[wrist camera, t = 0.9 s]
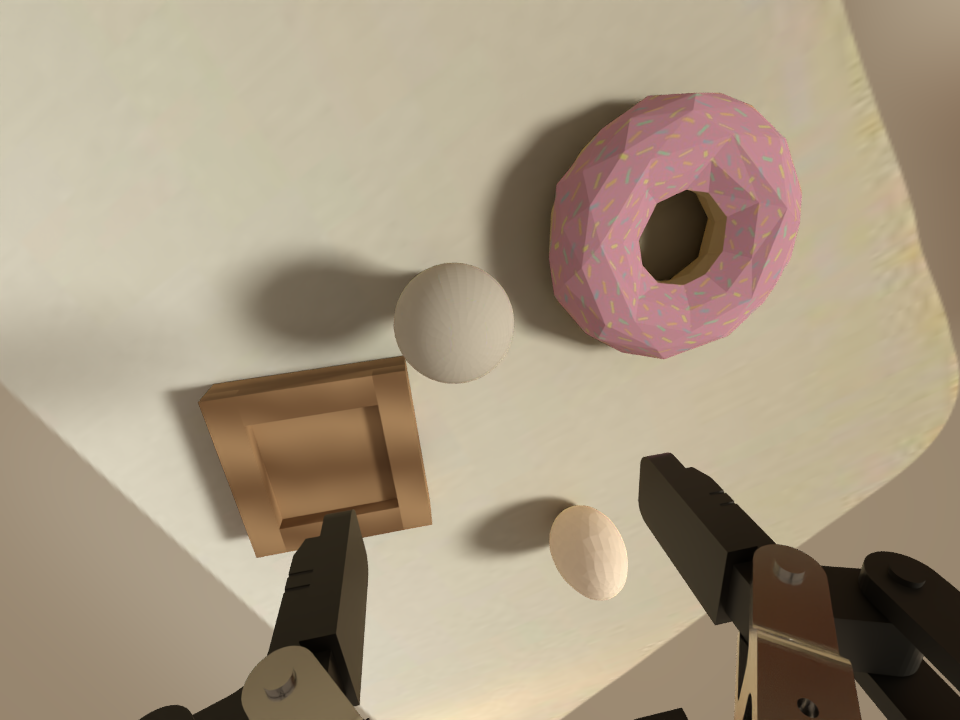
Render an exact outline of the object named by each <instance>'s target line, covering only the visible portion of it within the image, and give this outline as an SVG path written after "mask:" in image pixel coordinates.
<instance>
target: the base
mask: <svg viewBox="0 0 960 720" xmlns="http://www.w3.org/2000/svg"><path fill="white" fill-rule="evenodd" d="M198 404H199V406H200V409H201V411H202V414H203V417H204V419H205V422H206V425H207V427H208V430H209V433H210V435H211V438H212V441H213V443H214V446H215V449H216V451H217V454H218V457H219V459H220V462H221V465H222V467H223V470H224V472H225V475H226V478H227V480H228V483H229V486H230V488H231V491H232V494H233V496H234V499H235V502H236V504H237V507H238V510H239V512H240V515H241V518H242V520H243V523H244V526H245V528H246V531H247V533H248V536H249V539H250V541H251V544H252V547H253V549H254V552H255V555H256V557H257V558H258V557H264V556H269V555H274V554H279V553H285V552H290V551H295V550H298V549H299V547H300V546H301V545H302V543H303V542H304V540H305V539H307V538H312V537H318V536H320V533H321V528H322V523H323V518H324V516H325V515H326V514H330V513H336V512H341V511H347V510H352V509H354V510H355V512H356V515H357V519H358V523H359V527H360V530H361V534H362V538H363V537H369V536H374V535H379V534H384V533H390V532H395V531H400V530H405V529H411V528H416V527H421V526H426V525H432V517H431V507H430V499H429V493H428V487H427V481H426V476H425V470H424V464H423V458H422V453H421V447H420V441H419V435H418V430H417V424H416V418H415V412H414V406H413V401H412V395H411V389H410V383H409V378H408V372H407V366H406V360H405V357H404V356H399V357H392V358H386V359H379V360H372V361H366V362H359V363H352V364H346V365H339V366H332V367H326V368H319V369H312V370H306V371H299V372H292V373H286V374H279V375H272V376H265V377H259V378H252V379H245V380H239V381H232V382H225V383H219V384H213V386H212V387H211V388H210V389H209V390H208V391H207V393H206V394H205V395H204V396H203V397H202V398H201V400H200V401H199V402H198Z"/></svg>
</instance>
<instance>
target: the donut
mask: <svg viewBox="0 0 960 720" xmlns="http://www.w3.org/2000/svg"><path fill="white" fill-rule="evenodd" d="M684 190H690V191H692V192H694V193H696V194H697V196H698V199H699V201H700V203H701V205H702V207H703V209H704V211H705V213H706V215H707V217H708V220H707V224H706V228H705V232H704V236H703V240H702V244H701V248H700V252H699V256H698V258H697V259H695V260H694V261H693V262H692V263H690V264H689V265H688V266H687V267H685V268H684V269H683V270H682V271H680V272H679V273H678V274H677V275H675V276H674V277H673V278H672V279H670V280H664V281H657V280H655V279H654V278H653V277H652V276H651V275H650V273H649V272H648V271H647V270H646V269H645V268H644V266H643V265H642V260H641V253H640V246H639V239H640V237H641V235H642V233H643V231H644V229H645V227H646V224H647V222H648V220H649V218H650V216H651V214H652V212H653V210H654V208H655V206H656V204H657V203H659V202H661V201H663V200H665V199H667V198H669V197H671V196H673V195H676V194H678V193H680V192H682V191H684ZM801 198H802V191H801V187H800V184H799V181H798V178H797V174H796V171H795V168H794V164H793V161H792V158H791V154H790V151H789V148H788V144H787V141H786V139H785V138H784V137H783V136H782V135H781V134H780V133H779V132H778V131H777V130H776V129H775V128H774V127H773V126H772V125H771V124H770V123H769V122H768V121H767V120H766V119H765V118H764V117H763V116H762V115H761V114H760V113H759V112H758V111H757V110H756V109H755V108H754V107H753V106H752V105H749V104H747V103H744V102H742V101H739V100H737V99H734V98H732V97H729V96H727V95H724V94H722V93H686V94H671V95H655V96H647V97H646V98H645V99H643V100H642V101H640V102H639V103H637V104H636V105H635V106H633V107H632V108H630V109H629V110H628V111H626V112H625V113H623V114H622V115H621V116H619V117H618V118H616V119H615V120H613V121H612V122H611V123H609V124H608V125H606V126H605V127H604V128H602V129H601V130H600V131H599V132H598V134H597V135H596V136H595V137H594V138H593V139H592V140H591V141H590V142H589V143H588V144H587V145H586V146H585V147H584V148H583V149H582V150H581V152H580V153H579V155H578V157H577V158H576V160H575V162H574V163H573V165H572V166H571V167H570V169H569V170H568V171H567V172H566V174H565V175H564V176H563V177H562V178H561V180H560V181H559V182H558V183H557V185H556V195H555V202H554V205H553V208H552V211H551V225H550V245H549V262H550V269H551V276H552V283H553V290H554V297H555V298H556V299H557V300H558V302H559V303H560V304H561V305H562V306H563V307H564V309H565V310H566V311H567V312H568V313H569V314H570V316H571V317H572V318H573V319H574V320H575V321H576V323H577V324H578V325H579V326H580V327H581V328H582V330H583V331H584V332H585V333H586V334H588V335H590V336H592V337H594V338H595V339H597V340H599V341H601V342H603V343H605V344H607V345H609V346H611V347H613V348H615V349H617V350H618V351H620V352H623V353H630V354H636V355H642V356H648V357H654V358H660V359H666V358H669V357H671V356H674V355H677V354H680V353H682V352H685V351H688V350H691V349H693V348H696V347H699V346H701V345H704V344H707V343H710V342H712V341H715V340H718V339H721V338H723V337H726V336H728V335H730V334H731V333H732V332H733V331H734V330H735V329H736V328H737V327H738V326H739V325H740V324H741V323H742V322H743V321H744V320H745V319H747V318H748V317H749V316H750V315H751V314H752V313H753V312H754V311H755V310H756V309H757V308H758V307H759V306H760V305H761V304H762V303H763V302H764V301H765V300H766V298H767V297H768V295H769V294H770V292H771V291H772V290H773V288H774V286H775V285H776V283H777V281H778V280H779V278H780V276H781V274H782V273H783V271H784V269H785V267H786V266H787V264H788V262H789V261H790V259H791V255H792V251H793V247H794V243H795V239H796V236H797V232H798V228H799V224H800V212H801Z"/></svg>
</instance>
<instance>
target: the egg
mask: <svg viewBox="0 0 960 720" xmlns="http://www.w3.org/2000/svg"><path fill="white" fill-rule="evenodd" d="M549 545H550V552H551V555H552V558H553V561H554V563H555V565H556V568H557V569H558V571H559V573H560V574H561V576H562V577H563V579H564V580H565V581H566V582H567V583H568V584H569V585H570V586H572V587H573V588H574V589H575V590H576V591H577V592H579V593H580V594H582V595H584V596H585V597H588V598H590V599H594V600H608V599H610V598H612V597H615V596H616V595H617V594H618V593H619V592H620V590H621V589H622V588H623V586H624V584H625V582H626V578H627V569H628V561H627V552H626V547H625V545H624V542H623V539H622V537H621V535H620V533H619V531H618V529H617V528H616V527H615V525H614V524H613V523H612V521H611V520H610V519H609V518H608V517H607V516H606V515H604V514H603V513H601V512H600V511H598V510H597V509H594V508H592V507H589V506H580V505H579V506H572V507H568V508H567V509H565V510H563V511H562V512H561V513H560V514H559V515H558V516H557V517H556V518H555V520H554V522H553V524H552V527H551V531H550V538H549Z"/></svg>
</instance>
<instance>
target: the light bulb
mask: <svg viewBox="0 0 960 720" xmlns="http://www.w3.org/2000/svg"><path fill="white" fill-rule="evenodd" d="M394 332H395V338H396V341H397V344H398V347H399V349H400V351H401V353H402V355H403V356H404V357H405V359H406V360H407V361H408V363H409V364H410V365H411V366H412V367H413V368H414V369H415V370H417V371H418V372H420V373H421V374H422V375H424V376H426V377H428V378H430V379H432V380H435V381H439V382H443V383H455V384H458V383H466V382H470V381H473V380H476V379H478V378H481V377H483V376H484V375H486V374H487V373H489V372H490V371H491V370H493V369H494V368H495V367H496V366H497V365H498V364H499V363H500V362H501V361H502V359H503V358H504V356H505V355H506V353H507V351H508V349H509V347H510V344H511V341H512V338H513V332H514V315H513V310H512V306H511V303H510V300H509V298H508V296H507V294H506V292H505V291H504V289H503V288H502V286H501V285H500V284H499V283H498V282H497V281H496V280H495V279H494V278H493V277H492V276H491V275H489V274H488V273H486V272H485V271H483V270H481V269H479V268H477V267H474V266H472V265H468V264H463V263H444V264H440V265H436V266H433V267H431V268H428V269H426V270H424V271H423V272H421V273H419V274H418V275H417V276H416V277H414V278H413V279H412V280H411V281H410V282H409V283H408V285H407V286H406V287H405V288H404V290H403V292H402V293H401V295H400V297H399V299H398V302H397V305H396V308H395V313H394Z"/></svg>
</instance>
